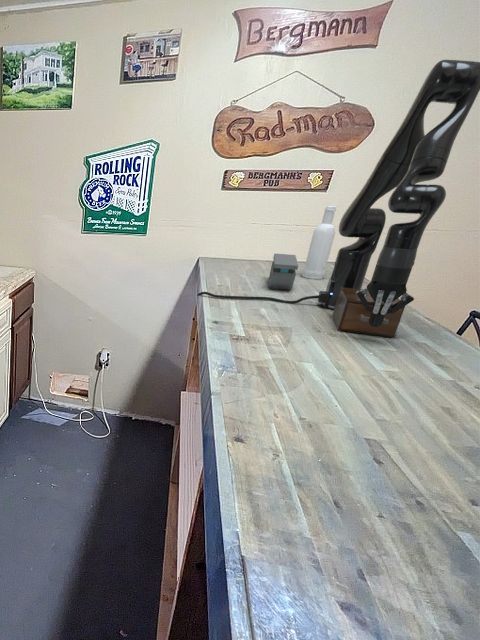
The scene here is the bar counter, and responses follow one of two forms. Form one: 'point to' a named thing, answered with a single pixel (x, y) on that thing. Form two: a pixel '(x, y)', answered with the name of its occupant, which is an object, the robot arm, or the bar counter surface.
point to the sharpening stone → (283, 271)
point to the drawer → (360, 316)
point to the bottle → (320, 246)
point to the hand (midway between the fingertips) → (373, 326)
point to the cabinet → (351, 297)
